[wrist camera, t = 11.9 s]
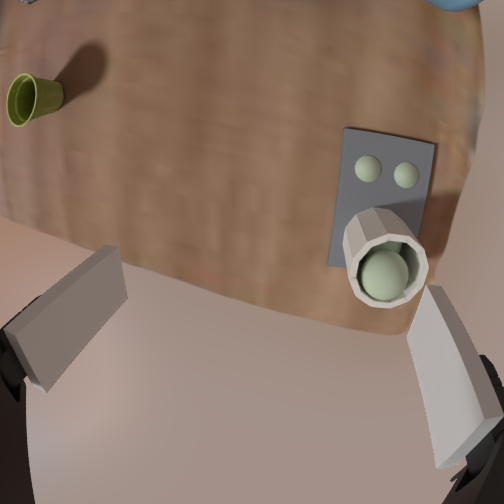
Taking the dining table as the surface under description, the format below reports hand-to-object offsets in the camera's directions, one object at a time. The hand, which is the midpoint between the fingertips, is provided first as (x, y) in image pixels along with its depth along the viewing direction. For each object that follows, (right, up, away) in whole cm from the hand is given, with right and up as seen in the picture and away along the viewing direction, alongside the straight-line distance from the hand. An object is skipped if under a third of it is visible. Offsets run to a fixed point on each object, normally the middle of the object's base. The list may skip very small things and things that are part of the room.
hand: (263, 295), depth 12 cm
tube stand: (+18, +8, +28) cm, 34 cm away
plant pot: (-37, +30, +29) cm, 56 cm away
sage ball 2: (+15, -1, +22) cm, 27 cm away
